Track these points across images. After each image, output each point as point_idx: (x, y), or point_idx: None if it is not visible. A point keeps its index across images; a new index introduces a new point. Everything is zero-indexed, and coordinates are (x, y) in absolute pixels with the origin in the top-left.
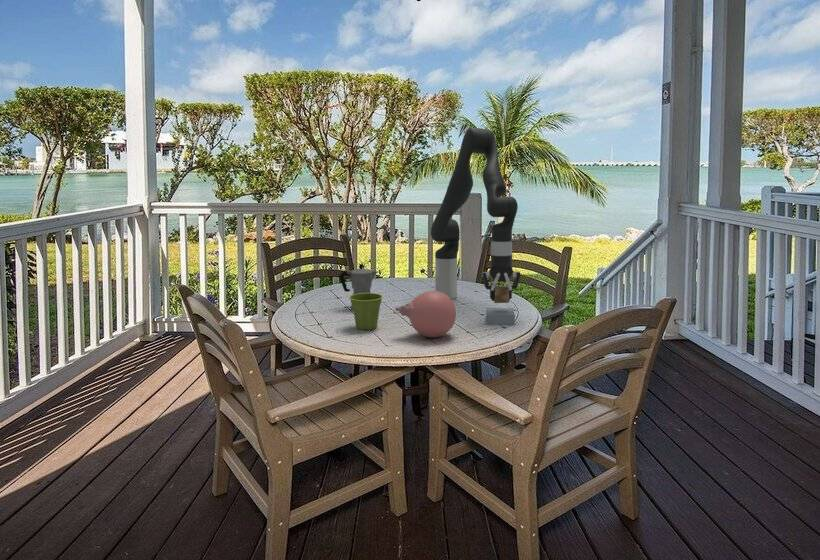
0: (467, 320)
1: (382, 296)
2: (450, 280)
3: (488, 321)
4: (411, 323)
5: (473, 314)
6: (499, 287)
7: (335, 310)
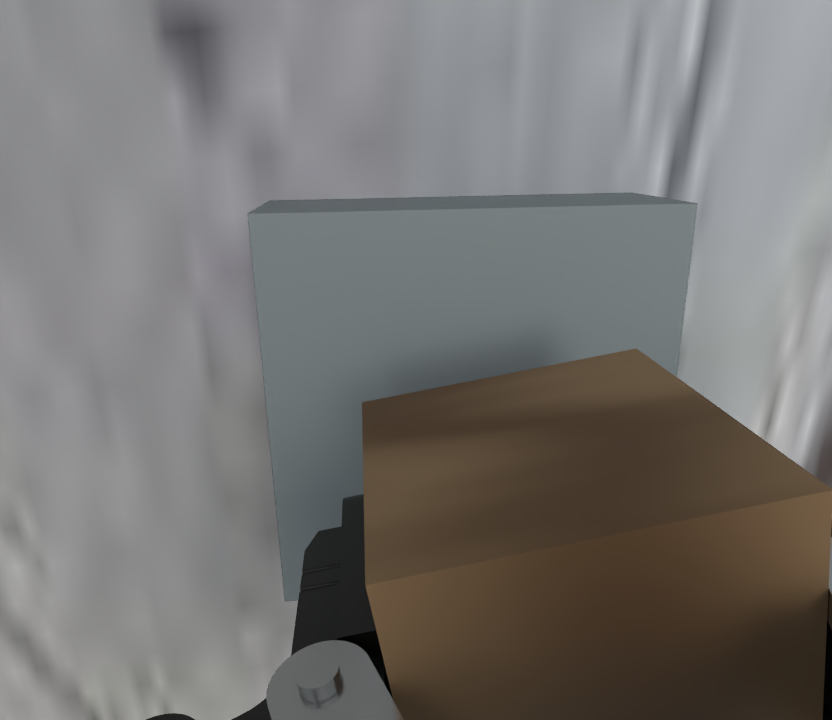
0: (46, 397)
1: None
2: None
3: None
4: None
5: (57, 48)
6: (576, 696)
7: None
